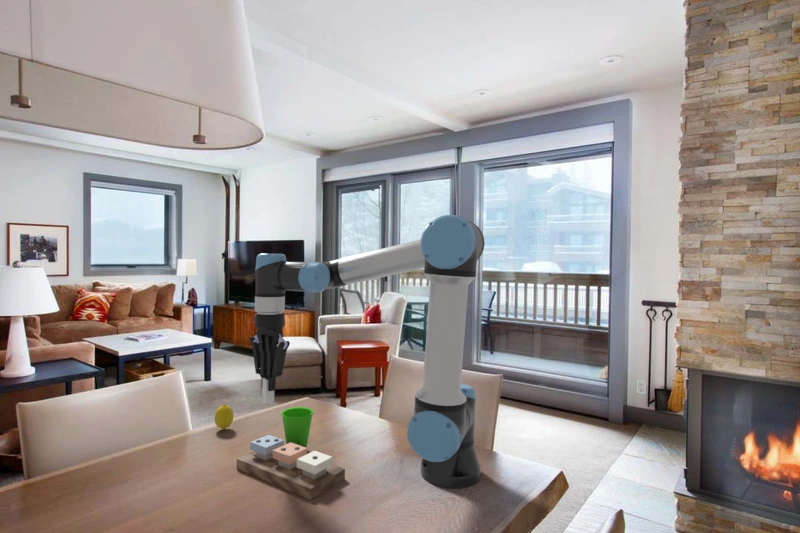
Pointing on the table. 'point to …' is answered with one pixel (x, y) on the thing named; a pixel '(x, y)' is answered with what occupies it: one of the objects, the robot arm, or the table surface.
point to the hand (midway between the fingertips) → (268, 402)
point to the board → (290, 475)
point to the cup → (297, 424)
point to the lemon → (223, 416)
